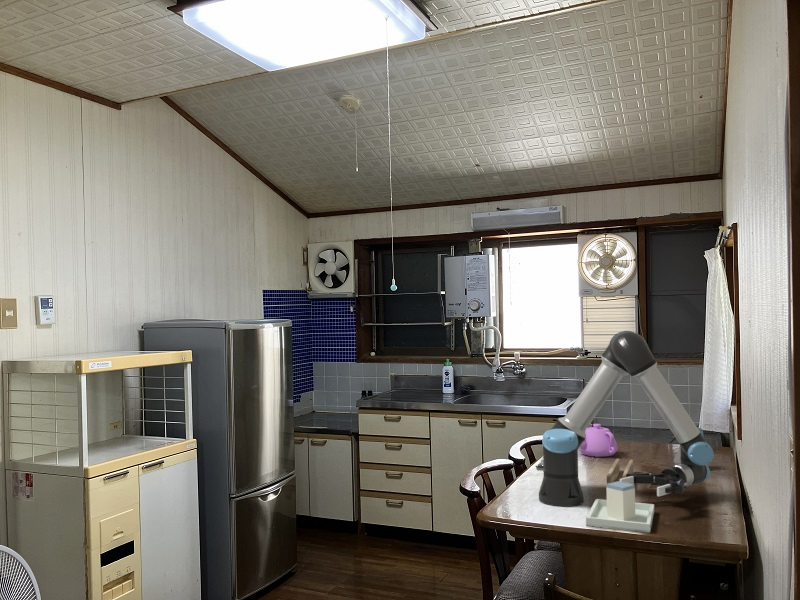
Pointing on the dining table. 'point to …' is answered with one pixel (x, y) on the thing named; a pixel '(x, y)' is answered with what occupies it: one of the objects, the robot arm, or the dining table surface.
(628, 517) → the white boxy piece
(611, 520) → the tray
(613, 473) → the wooden napkin holder
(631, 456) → the dining table surface
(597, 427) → the teapot
